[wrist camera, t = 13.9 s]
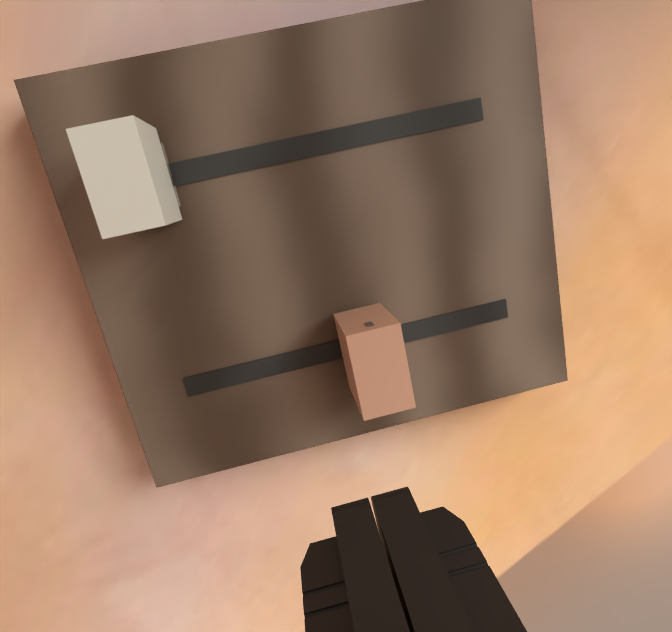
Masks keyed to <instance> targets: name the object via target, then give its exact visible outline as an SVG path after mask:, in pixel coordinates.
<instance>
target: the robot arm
mask: <svg viewBox="0 0 672 632" xmlns="http://www.w3.org/2000/svg"><path fill="white" fill-rule="evenodd" d="M371 500H372V505H373V509H374V513H375V518H376V522H377V525H376V522H375V518H374V515H373V512H372V509H371V506H370V502H369V499H368V498H365V499H361V500H358V501H354V502H350V503H347V504H343V505H339V506H336V507H332V508H331V509H332V515H333V520H334V526H335V531H336V537H332V538H328V539H325V540H321V541H318V542H314V543H310V545H309V548H308V550H307V553H306V555H305V558H304V560H303V563H302V565H301V580H302V593H303V606H304V615H305V632H527V631H526V629H525V627H524V626H523V624H522V622H521V620H520V618H519V617H518V615H517V613H516V612H515V610H514V608H513V606H512V605H511V603H510V601H509V599H508V598H507V596H506V594H505V592H504V591H503V589H502V587H501V585H500V584H499V582H498V580H497V578H496V577H495V575H494V573H493V571H492V570H491V568H490V566H488V564H487V561H486V559H485V557H484V556H483V554H482V552H481V550H480V549H479V547H477V544H476V542H475V540H474V538H473V537H472V535H471V533H470V531H469V530H468V528H467V526H466V524H465V523H464V521H463V520H461V519H460V518H458V517H457V516H456V515H454V514H453V513H451V512H450V511H448V510H447V509H446V508H444V507H439V508H436V509H432V510H428V511H425V512H421V513H420V512H419V510H418V508H417V505H416V503H415V501H414V499H413V497H412V494H411V492H410V490H409V488H408V487H404V488H401V489H397V490H393V491H390V492H386V493H382V494H379V495H375V496H372V497H371ZM377 526H378V528H377ZM378 530H379V531H378ZM379 534H380V535H379Z"/></svg>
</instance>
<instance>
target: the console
mask: <svg viewBox="0 0 672 632" xmlns="http://www.w3.org/2000/svg"><path fill="white" fill-rule="evenodd" d="M14 82H15V85H16V88H17V91H18V94H19V96H20V99H21V102H22V105H23V108H24V111H25V114H26V116H27V119H28V122H29V125H30V128H31V131H32V133H33V136H34V139H35V142H36V145H37V148H38V151H39V153H40V156H41V159H42V162H43V165H44V168H45V171H46V173H47V176H48V179H49V182H50V185H51V188H52V190H53V193H54V196H55V199H56V202H57V205H58V208H59V210H60V213H61V216H62V219H63V222H64V225H65V228H66V230H67V233H68V236H69V239H70V242H71V245H72V248H73V250H74V253H75V256H76V259H77V262H78V265H79V267H80V270H81V273H82V276H83V279H84V282H85V285H86V287H87V290H88V293H89V296H90V299H91V302H92V305H93V307H94V310H95V313H96V316H97V319H98V322H99V325H100V327H101V330H102V333H103V336H104V339H105V342H106V344H107V347H108V350H109V353H110V356H111V359H112V362H113V364H114V367H115V370H116V373H117V376H118V379H119V382H120V384H121V387H122V390H123V393H124V396H125V399H126V401H127V404H128V407H129V410H130V413H131V416H132V419H133V421H134V424H135V427H136V430H137V433H138V436H139V439H140V441H141V444H142V447H143V450H144V453H145V456H146V459H147V461H148V464H149V467H150V470H151V473H152V476H153V478H154V481H155V484H156V487H161V486H164V485H168V484H172V483H176V482H180V481H184V480H187V479H191V478H195V477H199V476H203V475H207V474H210V473H214V472H218V471H222V470H226V469H230V468H233V467H237V466H241V465H245V464H249V463H253V462H256V461H260V460H264V459H268V458H272V457H276V456H279V455H283V454H287V453H291V452H295V451H299V450H302V449H306V448H310V447H314V446H318V445H322V444H325V443H329V442H333V441H337V440H341V439H345V438H348V437H352V436H356V435H360V434H364V433H368V432H371V431H375V430H379V429H383V428H387V427H391V426H394V425H398V424H402V423H406V422H410V421H414V420H417V419H421V418H425V417H429V416H433V415H437V414H440V413H444V412H448V411H452V410H456V409H460V408H463V407H467V406H471V405H475V404H479V403H483V402H486V401H490V400H494V399H498V398H502V397H506V396H509V395H513V394H517V393H521V392H525V391H529V390H532V389H536V388H540V387H544V386H548V385H552V384H555V383H559V382H563V381H567V380H568V379H567V368H566V358H565V347H564V337H563V326H562V316H561V305H560V295H559V284H558V274H557V263H556V253H555V242H554V232H553V221H552V211H551V200H550V190H549V179H548V169H547V158H546V148H545V137H544V127H543V116H542V106H541V95H540V85H539V74H538V64H537V53H536V43H535V32H534V22H533V11H532V1H531V0H424V1H418V2H413V3H408V4H403V5H398V6H393V7H388V8H382V9H377V10H372V11H367V12H362V13H357V14H352V15H346V16H341V17H336V18H331V19H326V20H321V21H316V22H310V23H305V24H300V25H295V26H290V27H285V28H280V29H274V30H269V31H264V32H259V33H254V34H249V35H244V36H238V37H233V38H228V39H223V40H218V41H213V42H208V43H203V44H197V45H192V46H187V47H182V48H177V49H172V50H167V51H161V52H156V53H151V54H146V55H141V56H136V57H131V58H125V59H120V60H115V61H110V62H105V63H100V64H95V65H89V66H84V67H79V68H74V69H69V70H64V71H59V72H53V73H48V74H43V75H38V76H33V77H28V78H23V79H17V80H14ZM132 115H134V116H135V117H137V118H139V119H141V120H142V121H144V122H146V123H148V124H150V125H151V126H153V127H155V128H156V130H157V133H158V137H159V140H160V144H161V147H162V151H163V154H164V157H165V161H166V164H167V168H168V171H169V175H170V178H171V182H172V185H173V189H174V192H175V196H176V199H177V203H178V206H179V210H180V213H181V216H182V220H180V221H177V222H174V223H171V224H168V225H165V226H161V227H156V228H152V229H147V230H145V231H142V232H138V233H129V234H125V235H120V236H116V237H111V238H107V239H102V237H101V234H100V231H99V228H98V225H97V222H96V219H95V216H94V213H93V210H92V207H91V204H90V201H89V198H88V195H87V192H86V189H85V186H84V183H83V180H82V177H81V174H80V171H79V168H78V165H77V162H76V159H75V156H74V153H73V150H72V147H71V144H70V141H69V138H68V135H67V132H66V129H68V128H73V127H77V126H82V125H87V124H92V123H97V122H102V121H107V120H112V119H117V118H122V117H127V116H132ZM377 303H381V304H382V305H383V306H384V307H385V308H386V309H387V310H388V311H389V312H390V313H391V314H392V315H393V316H394V317H395V318H396V319H397V320H398V321H399V322H400V323H401V329H402V334H403V340H404V345H405V350H406V356H407V361H408V367H409V372H410V377H411V383H412V388H413V394H414V399H415V405H416V408H412V409H408V410H404V411H401V412H397V413H393V414H389V415H385V416H381V417H377V418H373V419H370V420H366V421H364V420H363V418H362V415H361V413H360V411H359V408H358V406H357V404H356V401H355V399H354V397H353V394H352V392H351V390H350V387H349V383H348V378H347V374H346V369H345V365H344V360H343V356H342V351H341V347H340V342H339V338H338V333H337V329H336V324H335V319H334V315H333V314H335V313H339V312H344V311H348V310H352V309H356V308H360V307H364V306H368V305H373V304H377Z"/></svg>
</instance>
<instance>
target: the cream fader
mask: <svg viewBox="0 0 672 632" xmlns="http://www.w3.org/2000/svg"><path fill="white" fill-rule="evenodd" d="M66 132H67V135H68V138H69V141H70V144H71V147H72V150H73V153H74V156H75V159H76V162H77V165H78V168H79V171H80V174H81V177H82V180H83V183H84V186H85V189H86V192H87V195H88V198H89V201H90V204H91V207H92V210H93V213H94V216H95V219H96V222H97V225H98V228H99V231H100V234H101V237H102V239H107V238H111V237H116V236H120V235H125V234H129V233H138V232H142V231H145V230H147V229H152V228H156V227H161V226H165V225H168V224H171V223H174V222H177V221H180V220H182V216H181V213H180V210H179V206H178V203H177V199H176V196H175V192H174V189H173V185H172V182H171V178H170V175H169V171H168V168H167V164H166V161H165V157H164V154H163V151H162V147H161V144H160V140H159V137H158V133H157V130H156V128H155V127H153V126H151V125H150V124H148V123H146V122H144V121H142V120H141V119H139V118H137V117H135V116H134V115H132V116H127V117H122V118H117V119H112V120H107V121H102V122H97V123H92V124H87V125H82V126H77V127H73V128H68V129H66Z"/></svg>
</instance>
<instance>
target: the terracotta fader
mask: <svg viewBox="0 0 672 632" xmlns="http://www.w3.org/2000/svg"><path fill="white" fill-rule="evenodd" d="M333 315H334V319H335V324H336V329H337V333H338V338H339V342H340V347H341V351H342V356H343V360H344V365H345V369H346V374H347V378H348V383H349V387H350V390H351V392H352V394H353V397H354V399H355V401H356V404H357V406H358V408H359V411H360V413H361V415H362V418H363V420H364V421H366V420H370V419H373V418H377V417H381V416H385V415H389V414H393V413H397V412H401V411H404V410H408V409H412V408H416V405H415V399H414V394H413V388H412V383H411V377H410V372H409V367H408V361H407V356H406V350H405V345H404V340H403V334H402V329H401V323H400V322H399V321H398V320H397V319H396V318H395V317H394V316H393V315H392V314H391V313H390V312H389V311H388V310H387V309H386V308H385V307H384V306H383V305H382V304H381V303H377V304H373V305H368V306H364V307H360V308H356V309H352V310H348V311H344V312H339V313H335V314H333Z"/></svg>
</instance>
